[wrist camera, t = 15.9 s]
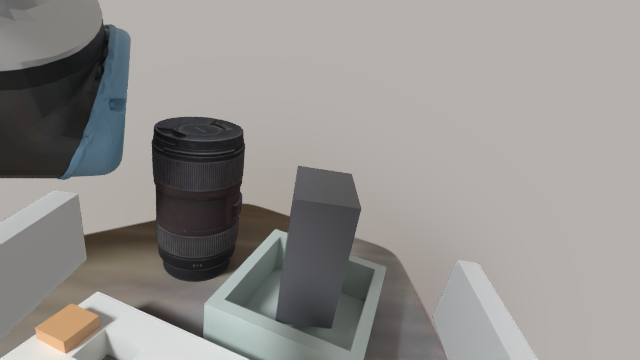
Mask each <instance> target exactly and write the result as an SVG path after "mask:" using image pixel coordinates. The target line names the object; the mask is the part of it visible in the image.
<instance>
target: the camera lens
mask: <svg viewBox="0 0 640 360" xmlns="http://www.w3.org/2000/svg"><path fill="white" fill-rule="evenodd" d="M244 150H245V143H244V139H243V129H241V127H240V126H238V125H236V124H233V123H230V122H227V121H223V120H218V119H213V118H204V117H178V118H170V119H166V120H163V121H160V122H158V123H157V124H155V126H154V136H153V140H152V161H153V176H154V183H155V185H156V237H157V243H158V249H159V255H160V257H161V258H162V259H163V265H164V268H165V270H166V271H167V272H168V274H170V275H171V276H173V277H175V278H177V279H180V280H184V281H203V280H208V279H211V278H213V277H216V276H217V275H219V274H220V273H222V272H223V271H224V270H225V269H226V267H227V266H228V264H229V259H230V257H231V256H232V254H233V252H234V248H235V242H236V239H237V235H238V223H239V217H238V215H239V213H240V212H241V206H242V194H241V192H240V186H241V184H242V176H243V168H244Z"/></svg>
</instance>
